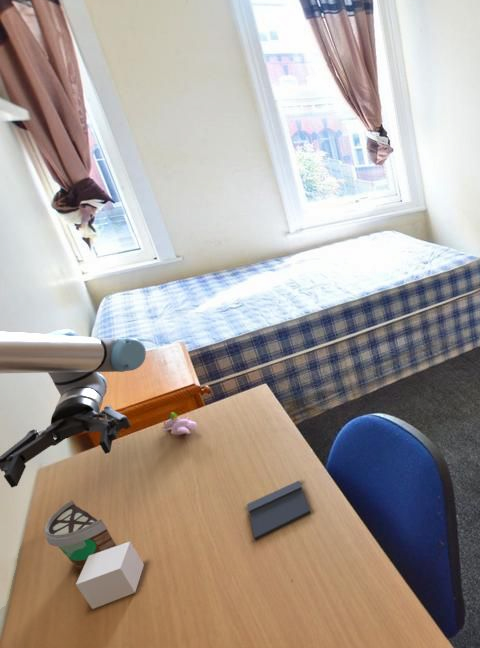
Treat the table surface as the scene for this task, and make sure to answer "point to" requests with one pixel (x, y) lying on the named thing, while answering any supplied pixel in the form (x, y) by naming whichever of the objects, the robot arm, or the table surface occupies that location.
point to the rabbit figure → (179, 425)
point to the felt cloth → (277, 509)
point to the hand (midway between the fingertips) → (59, 463)
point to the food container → (77, 534)
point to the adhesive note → (110, 575)
